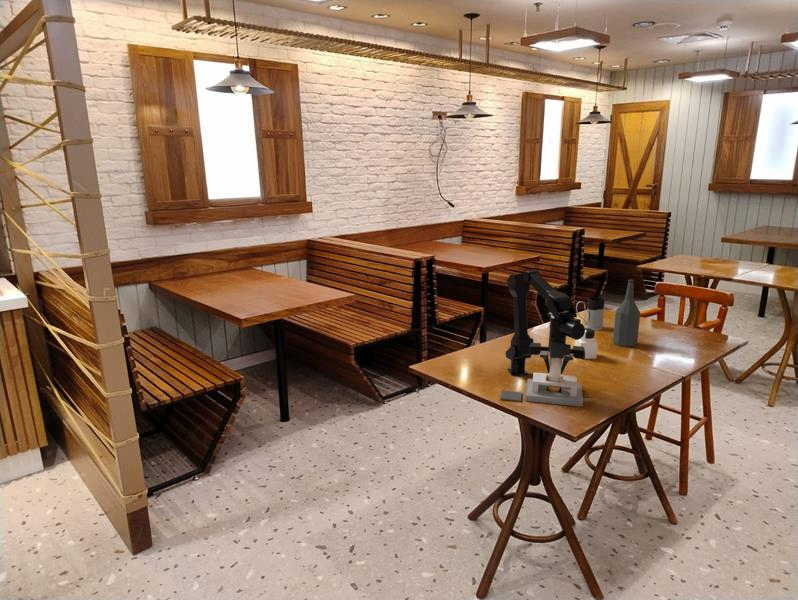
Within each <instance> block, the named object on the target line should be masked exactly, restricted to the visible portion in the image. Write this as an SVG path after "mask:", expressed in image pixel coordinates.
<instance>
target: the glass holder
mask: <svg viewBox="0 0 798 600" xmlns="http://www.w3.org/2000/svg"><path fill="white" fill-rule="evenodd" d="M605 301H606V299H605V298H603V297H597V296H592V297H588V301H587V302H588V304H587V308H586V303H585V301H582V300H581V301H580V300H579V301H578V302H577V303H576V307H575V310H576V314H577V317H579V319H580V320H582V321H584V323H585V325H584V328H590V329H593V330H594V331H603V330H604V316H605ZM579 303H582V304H583V305H584V310H585V311H586V320H585V319H584V318H583V317H581V315H580V313H579V311H578V305H579ZM602 329H603V330H602Z"/></svg>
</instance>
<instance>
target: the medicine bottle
mask: <svg viewBox="0 0 798 600" xmlns="http://www.w3.org/2000/svg"><path fill="white" fill-rule="evenodd" d="M584 328H585V327H584ZM595 332H596V330H593V329H590V328H585V333H584V335H583V337H582V338H581V339H579V340H575V339H574V346H581V347H584V348H585V359H586V360H587V359H588V360H590V359H592V360H593V359H595V360H596V359H597V356H598V355H597V353H598V346H599V345H598V342H597V341H596V340H595V335H596V334H595ZM585 359H584V360H585Z"/></svg>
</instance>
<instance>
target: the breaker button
mask: <svg viewBox="0 0 798 600" xmlns="http://www.w3.org/2000/svg"><path fill="white" fill-rule="evenodd" d="M548 392H558V393H561V392H560V386H558V387H553V386H550V385H548Z"/></svg>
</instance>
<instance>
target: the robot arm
mask: <svg viewBox="0 0 798 600" xmlns="http://www.w3.org/2000/svg"><path fill="white" fill-rule="evenodd" d="M506 282H507V286H508V291H509V294H511V296H512V303H513V306H512V307H513V326H514V330H513V331H514V334H513V336H512V337H511V340H510V346H509V348H508V349H507V350H506V351H505V358H507V359H509V361H510V368H509V367H508V368H507V371H508V373H509V374H510V373H511V374H510V375H511V376H513V375H514V376H528V375H529V374H528V371H526V363H527V360H526V359H531V358H532V356H539V358H542V359H543V360H544V363H545V366H546V371H547V374H549V368H550V357H551V358H560V359H562V366H561V375H563V373H564V371H565V369H566V367H567V365H568V364H569V362H570V361H573V360H574V359H579V360H585V348H584V347H581V346H575V345H573V346H571V344H568V343H567V337H568V338H571V339H573V340H574V341H575V340H579V339H581V338H582V337H583V335H584V333H585V325H584V324H582V322H581V321H582V319H581V318H577V317H578V314H577V311H576V308H575V306H574V303H573V301H572V298H571V297H570V296H569V295H567V294H566V293H564V292H561V291H558V290H557V289H555V288H554V287H553V286H552V284H550V283H549V282H548V281H547V280H546V279H545V278H544V277H543V276H542V275H541V274H540V272H539V271H538V270H527V271H524V272H522V273H513V274H510V275H509V276H508V277H507V280H506ZM531 287H532V289H534V290H535V291H536V292H537V293H538V294H539V295H540V296H541V297H542V298H543V299H544V301H545V306H546V308H547V309H548V311H549V312H547V314H546V316H547V317H548V318H549V319H550V320H549V321H550V322H549V331H548V332H549V334H548V346H543V345H542V343H541V342H534V341H535V340H534V338H532V337H531V336H530V335H529V333H528V310H527V309H528V308H527V296H528V294H529V292H530V291H531Z"/></svg>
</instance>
